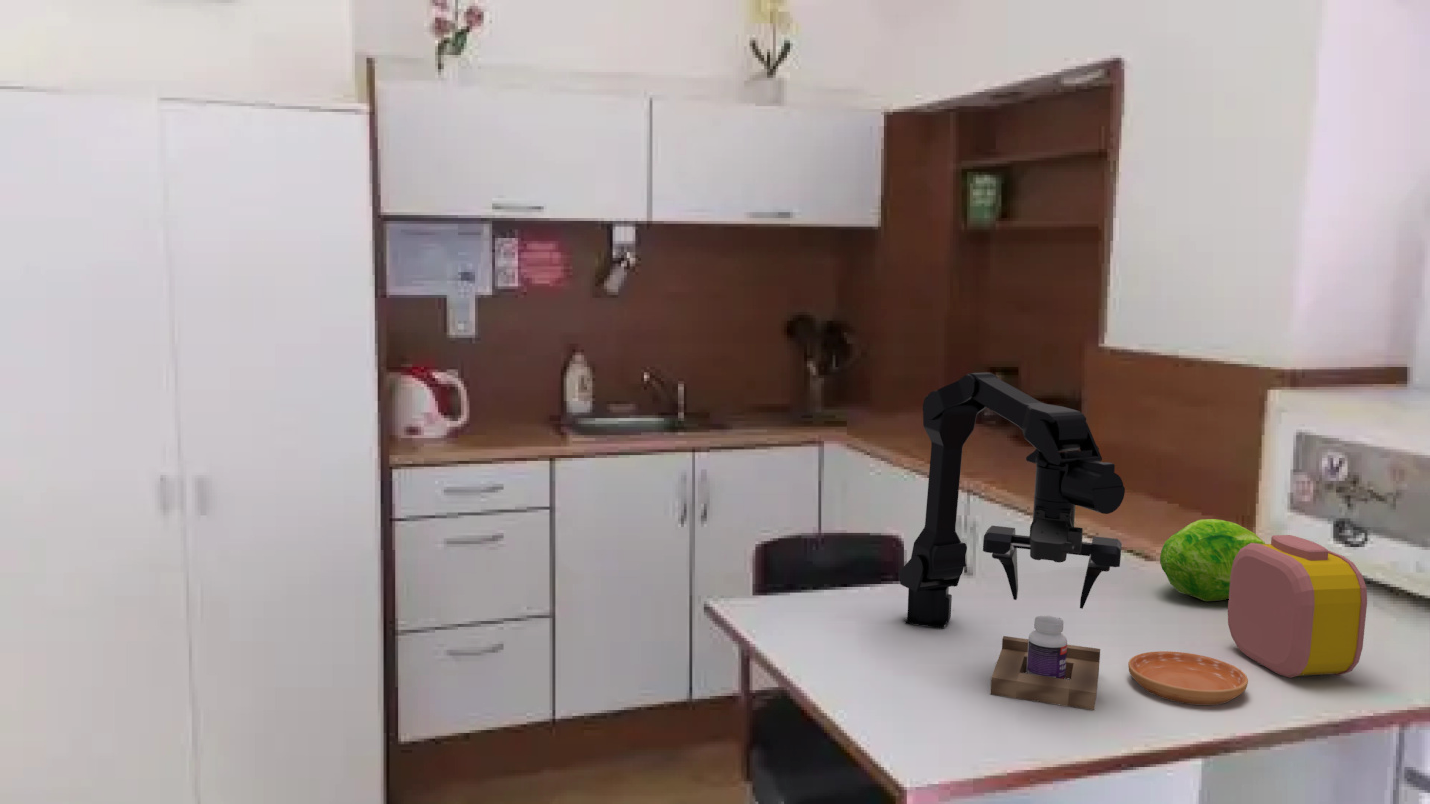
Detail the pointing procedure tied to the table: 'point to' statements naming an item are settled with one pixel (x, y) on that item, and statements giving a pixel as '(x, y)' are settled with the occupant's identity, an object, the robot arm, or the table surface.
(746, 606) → the table surface
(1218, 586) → the lettuce
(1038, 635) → the pill bottle
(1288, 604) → the alarm clock
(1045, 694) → the socket
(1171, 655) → the saucer
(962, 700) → the table surface
